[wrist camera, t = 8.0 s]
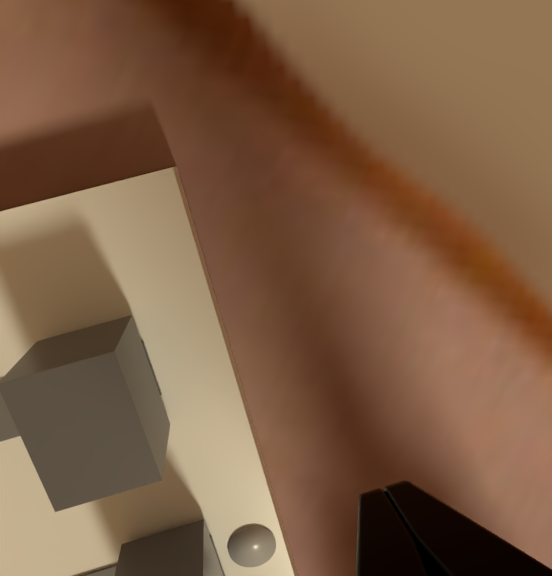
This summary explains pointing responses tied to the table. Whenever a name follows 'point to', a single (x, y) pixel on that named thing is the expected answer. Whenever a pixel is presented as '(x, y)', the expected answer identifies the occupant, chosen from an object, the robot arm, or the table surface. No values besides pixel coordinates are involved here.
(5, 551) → the switch board
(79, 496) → the dark grey block
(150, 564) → the dark grey box
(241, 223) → the table surface
